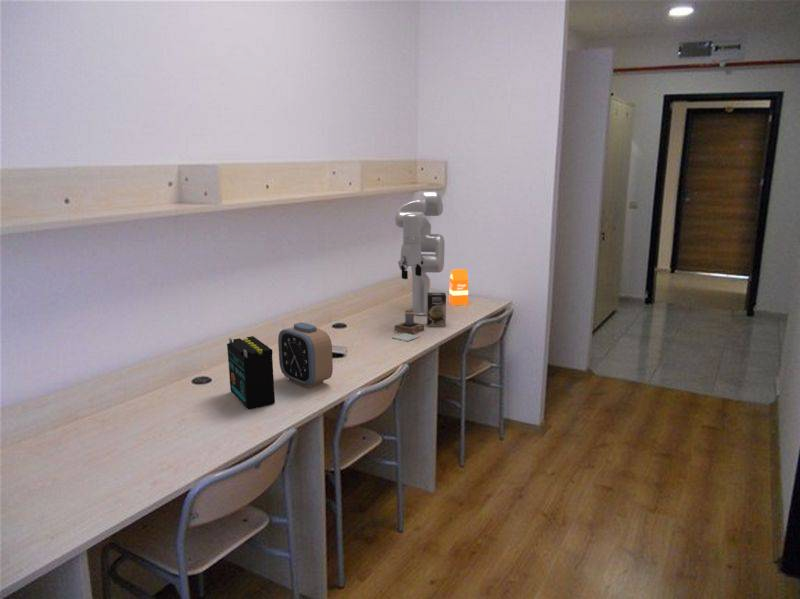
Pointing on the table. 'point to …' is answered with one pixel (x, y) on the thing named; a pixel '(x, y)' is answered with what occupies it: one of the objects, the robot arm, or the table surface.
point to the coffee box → (436, 310)
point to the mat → (406, 337)
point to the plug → (409, 318)
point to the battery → (251, 372)
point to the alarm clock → (305, 355)
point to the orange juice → (458, 287)
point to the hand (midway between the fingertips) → (411, 277)
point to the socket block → (409, 328)
